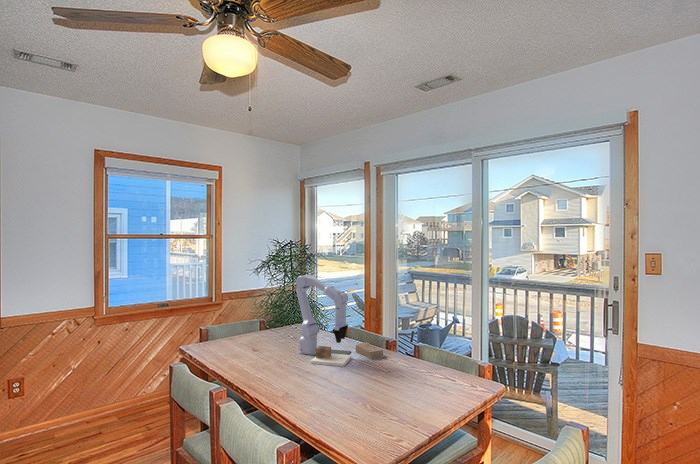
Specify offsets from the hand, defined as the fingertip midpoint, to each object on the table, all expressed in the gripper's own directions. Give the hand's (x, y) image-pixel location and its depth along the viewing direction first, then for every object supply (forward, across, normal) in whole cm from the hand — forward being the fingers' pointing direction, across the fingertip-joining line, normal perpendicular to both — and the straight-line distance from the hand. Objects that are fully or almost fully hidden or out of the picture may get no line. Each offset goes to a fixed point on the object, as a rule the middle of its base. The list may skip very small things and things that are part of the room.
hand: (340, 340), depth 202 cm
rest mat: (+10, +8, +3) cm, 13 cm away
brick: (+10, +11, -14) cm, 20 cm away
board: (+10, -5, +4) cm, 11 cm away
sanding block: (+8, -5, +8) cm, 12 cm away
